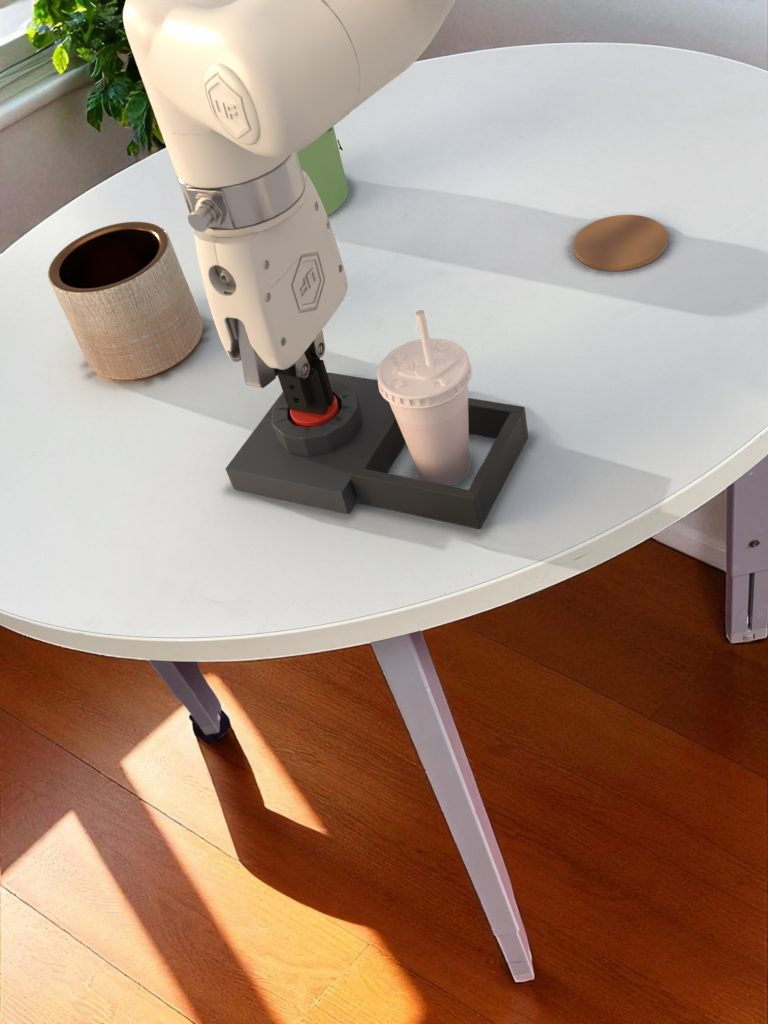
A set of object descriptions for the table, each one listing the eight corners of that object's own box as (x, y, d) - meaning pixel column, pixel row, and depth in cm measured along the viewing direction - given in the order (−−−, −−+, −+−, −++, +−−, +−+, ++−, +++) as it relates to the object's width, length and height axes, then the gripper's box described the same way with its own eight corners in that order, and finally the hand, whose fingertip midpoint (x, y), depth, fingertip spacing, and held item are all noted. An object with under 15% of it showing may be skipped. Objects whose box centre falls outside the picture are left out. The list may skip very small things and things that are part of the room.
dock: (529, 437, 79) (525, 406, 77) (480, 529, 73) (474, 499, 71) (412, 417, 83) (405, 387, 81) (358, 503, 78) (349, 474, 75)
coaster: (678, 223, 94) (678, 217, 94) (652, 275, 90) (652, 270, 89) (590, 216, 98) (590, 211, 97) (561, 266, 93) (561, 261, 93)
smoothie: (489, 495, 76) (462, 337, 66) (400, 506, 76) (360, 351, 67) (485, 434, 80) (459, 277, 70) (401, 445, 81) (363, 292, 71)
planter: (66, 376, 96) (20, 287, 89) (131, 304, 102) (93, 216, 95) (164, 392, 91) (124, 299, 85) (226, 315, 98) (194, 224, 91)
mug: (358, 211, 106) (331, 95, 98) (256, 237, 106) (220, 123, 98) (342, 154, 115) (316, 43, 107) (248, 178, 115) (215, 69, 107)
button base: (416, 406, 84) (407, 366, 81) (348, 514, 77) (336, 475, 74) (307, 388, 88) (295, 350, 85) (233, 489, 81) (217, 451, 78)
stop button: (350, 411, 81) (345, 394, 80) (328, 443, 79) (323, 426, 78) (309, 404, 83) (304, 387, 81) (287, 435, 80) (281, 418, 79)
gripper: (232, 257, 61) (308, 484, 74) (349, 126, 69) (398, 350, 82) (128, 245, 64) (219, 465, 77) (252, 122, 72) (315, 338, 85)
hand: (311, 405), depth 80 cm, fingers closed
